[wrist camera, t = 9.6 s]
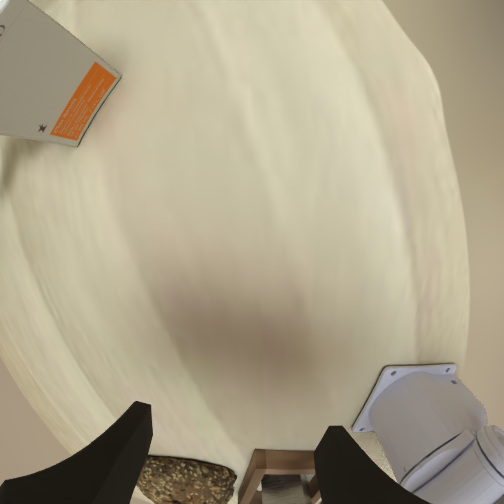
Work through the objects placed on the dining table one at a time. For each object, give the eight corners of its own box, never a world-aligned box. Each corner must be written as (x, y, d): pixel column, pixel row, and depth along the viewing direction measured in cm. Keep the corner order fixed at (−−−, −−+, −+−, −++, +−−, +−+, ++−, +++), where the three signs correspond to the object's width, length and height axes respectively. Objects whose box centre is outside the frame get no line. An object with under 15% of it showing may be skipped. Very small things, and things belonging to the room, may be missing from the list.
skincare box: (78, 149, 15) (-63, 135, 4) (46, 126, 15) (-77, 107, 3) (126, 74, 14) (16, -12, 3) (89, 57, 14) (-13, -10, 2)
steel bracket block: (260, 467, 23) (262, 512, 17) (297, 459, 22) (305, 504, 17) (275, 487, 24) (279, 526, 18) (308, 480, 24) (315, 519, 18)
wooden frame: (340, 449, 22) (346, 466, 20) (308, 493, 24) (310, 507, 22) (255, 449, 22) (255, 468, 19) (238, 492, 24) (237, 508, 22)
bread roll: (123, 442, 22) (110, 475, 17) (237, 458, 22) (236, 496, 18) (147, 491, 25) (140, 517, 20) (236, 502, 25) (236, 530, 20)
